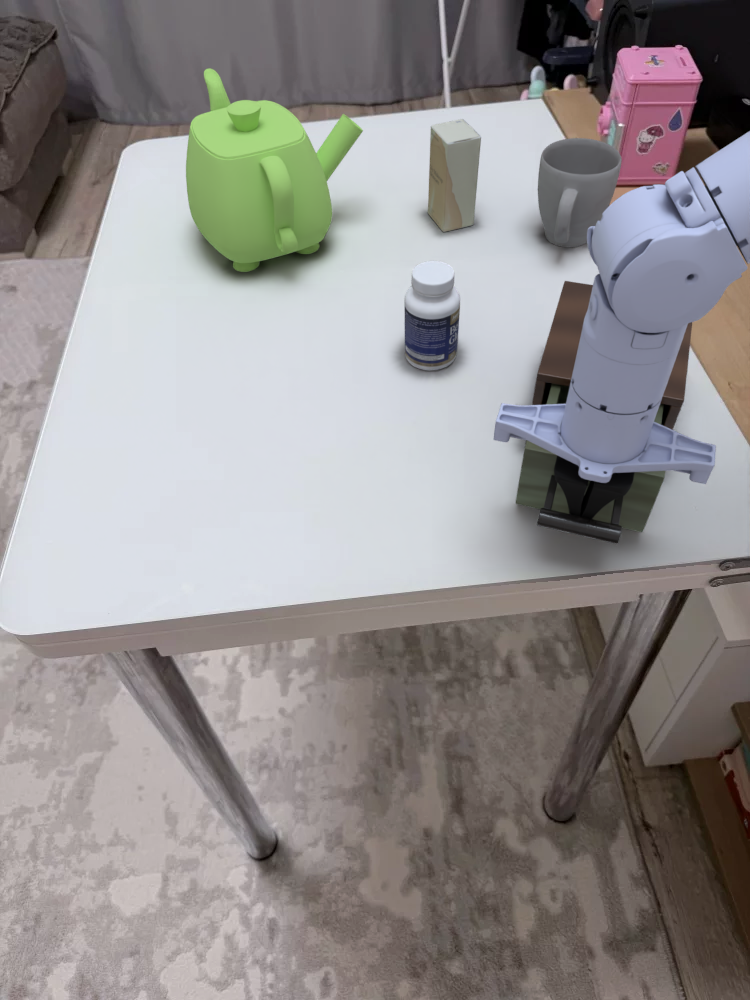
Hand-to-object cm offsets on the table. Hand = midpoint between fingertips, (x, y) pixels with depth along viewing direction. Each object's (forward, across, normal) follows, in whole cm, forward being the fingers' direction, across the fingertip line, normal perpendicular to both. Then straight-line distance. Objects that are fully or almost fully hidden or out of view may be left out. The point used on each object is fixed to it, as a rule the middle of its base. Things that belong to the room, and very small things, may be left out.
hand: (579, 516), depth 58 cm
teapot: (+4, -42, +38) cm, 57 cm away
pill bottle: (+4, -18, +20) cm, 27 cm away
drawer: (+3, 0, +6) cm, 7 cm away
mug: (+4, -8, +44) cm, 45 cm away
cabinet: (+4, 0, +17) cm, 17 cm away
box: (+4, -22, +46) cm, 51 cm away
